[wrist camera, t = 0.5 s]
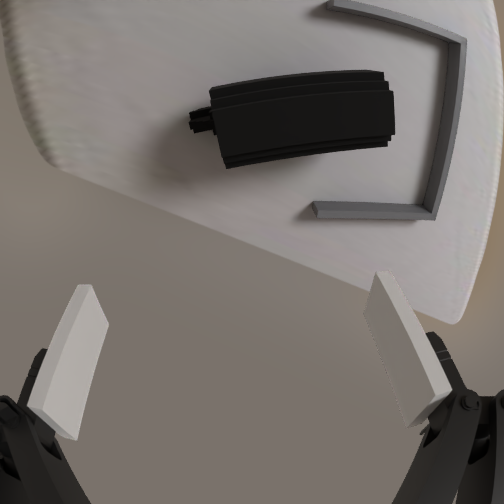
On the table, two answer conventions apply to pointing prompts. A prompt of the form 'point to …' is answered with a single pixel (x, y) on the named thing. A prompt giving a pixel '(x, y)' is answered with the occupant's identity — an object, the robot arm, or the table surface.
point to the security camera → (298, 115)
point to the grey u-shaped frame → (447, 131)
